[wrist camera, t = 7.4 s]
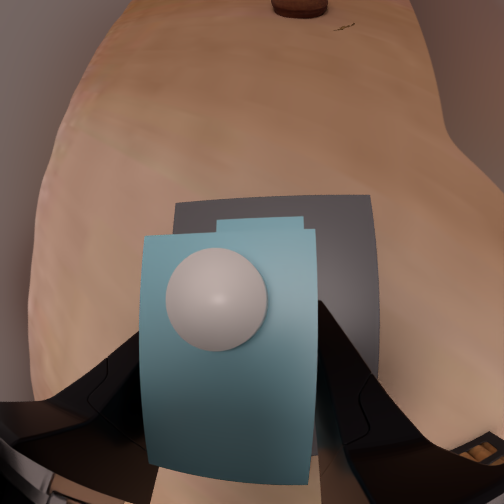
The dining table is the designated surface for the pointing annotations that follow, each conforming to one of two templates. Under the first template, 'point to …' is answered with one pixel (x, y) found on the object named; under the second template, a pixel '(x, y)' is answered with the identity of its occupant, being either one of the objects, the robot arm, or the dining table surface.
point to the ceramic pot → (301, 8)
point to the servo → (231, 350)
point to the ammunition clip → (483, 449)
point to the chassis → (318, 255)
